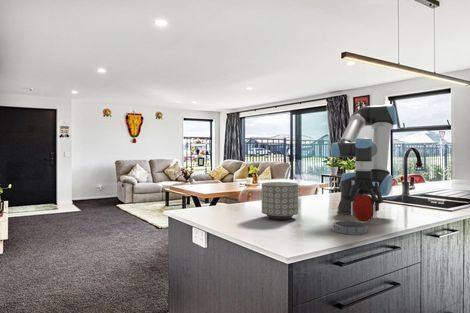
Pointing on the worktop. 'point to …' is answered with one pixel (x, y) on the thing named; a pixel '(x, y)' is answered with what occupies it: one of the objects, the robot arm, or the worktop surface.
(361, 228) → the grey shallow round dish
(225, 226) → the worktop surface
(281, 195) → the planter
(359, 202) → the apple
